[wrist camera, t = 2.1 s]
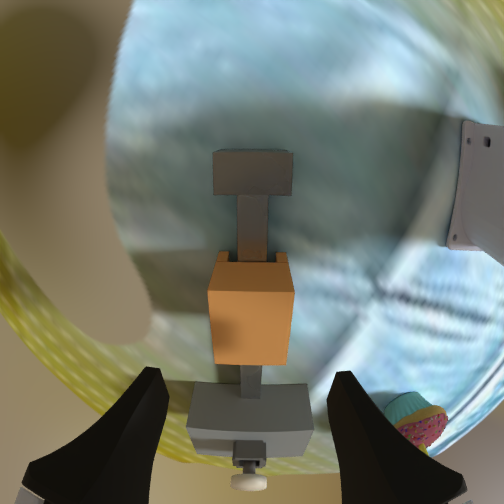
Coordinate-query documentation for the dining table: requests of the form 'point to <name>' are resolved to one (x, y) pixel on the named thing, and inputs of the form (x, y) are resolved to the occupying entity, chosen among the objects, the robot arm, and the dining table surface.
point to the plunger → (248, 478)
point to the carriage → (251, 311)
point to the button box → (250, 422)
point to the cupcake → (416, 419)
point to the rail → (252, 213)
